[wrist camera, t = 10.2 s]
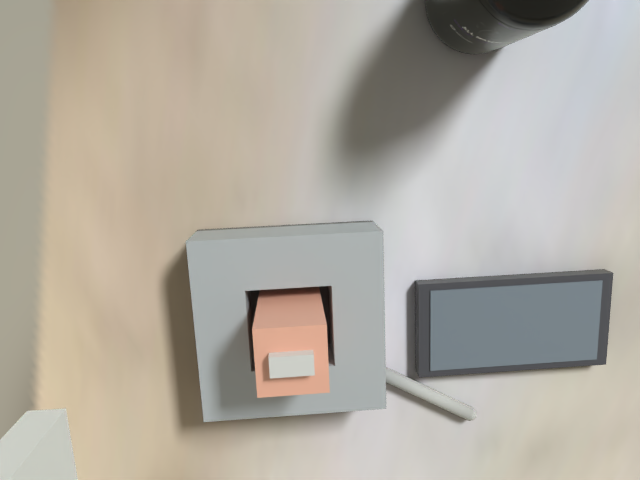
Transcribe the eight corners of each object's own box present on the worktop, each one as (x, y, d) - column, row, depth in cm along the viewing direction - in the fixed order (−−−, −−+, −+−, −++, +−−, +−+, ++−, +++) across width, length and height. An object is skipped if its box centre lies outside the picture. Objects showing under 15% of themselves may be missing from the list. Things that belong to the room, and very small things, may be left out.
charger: (260, 286, 34) (251, 333, 26) (317, 282, 34) (327, 328, 26) (264, 340, 35) (256, 403, 26) (320, 336, 35) (330, 398, 27)
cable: (366, 370, 36) (369, 376, 35) (373, 359, 36) (375, 365, 35) (469, 417, 38) (474, 425, 37) (475, 407, 38) (480, 414, 37)
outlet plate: (197, 229, 34) (185, 241, 30) (372, 220, 34) (383, 230, 30) (212, 391, 36) (203, 422, 32) (375, 380, 37) (386, 408, 33)
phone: (415, 280, 35) (419, 284, 34) (604, 269, 36) (614, 273, 35) (415, 371, 37) (419, 378, 36) (597, 358, 37) (606, 364, 36)
